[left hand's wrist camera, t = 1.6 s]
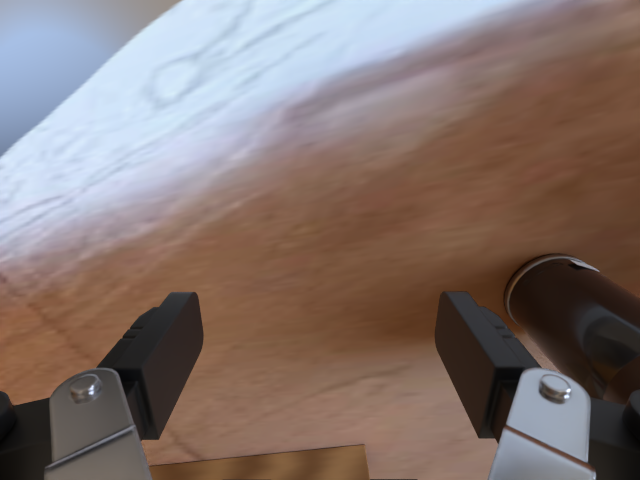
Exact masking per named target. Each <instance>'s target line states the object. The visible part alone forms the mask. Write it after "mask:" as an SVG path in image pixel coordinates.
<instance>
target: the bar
mask: <svg viewBox="0 0 640 480" xmlns="http://www.w3.org/2000/svg"><path fill="white" fill-rule="evenodd" d="M148 467H149V470H150V473H151V476H152V479H153V480H223V479H271V480H369V479H370V477H369V470H368V463H367V456H366V449H365V445H355V446H346V447H336V448H326V449H316V450H306V451H296V452H286V453H276V454H267V455H257V456H247V457H237V458H227V459H217V460H207V461H198V462H188V463H178V464H168V465H158V466H148Z"/></svg>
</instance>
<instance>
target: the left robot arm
mask: <svg viewBox="0 0 640 480" xmlns="http://www.w3.org/2000/svg"><path fill="white" fill-rule="evenodd" d="M595 270H596V271H595ZM597 271H598V270H597V269H595V268H594V267H592V266H590V265H587V264H585V263H584V262H582V261H581V260H579V259H577V258H575V257H573V256H570V255H565V254H551V255H546V256H542V257H540V258H537V259H535V260H533V261H531V262H529V263H528V264H526V265H525V266H523V267H522V268H521V269H520V270H519V271H518V272H517V273H516V274H515V275H514V276H513V277H512V279H511V280H510V282H509V284H508V286H507V288H506V291H505V297H504V304H505V309H506V311H507V313H508V315H509V316H510V318H511V319H512V320H513V321H514V322H515V323H516V324H517V325H518V326H520V327H521V328H522V330H523V331H524V332H525V333H526V334H527V335H528V336H529V337H530V339H531V340H532V341H533V342H534V343H535V344H536V345H537V346H538V348H539V349H540V350H541V351H542V352H543V353H544V354H545V355H546V356H547V358H548V359H549V360H550V361H551V362H552V363H553V364H554V365H555V366H556V368H557V369H558V370H559V371H560V372H561V373H559V372H557V371H554V370H550V369H546V368H542V367H541V366H540V365H539V364H538V363H537V361H536V360H535V359H534V358H533V357H532V355H531V354H530V353H529V352H528V351H527V349H526V348H525V347H524V346H523V345H522V343H521V342H520V341H519V340H518V339H517V338H515V335H514V334H513V333H512V331H511V330H510V329H508V328H507V325H506V324H505V323H504V322H503V321H502V320H501V318H500V317H499V316H498V315H496V314H495V313H493V312H492V311H490V310H489V309H487V308H486V307H479V306H478V305H477V304H476V302H475V301H474V300H473V298H472V297H471V296H470V295H469V293H468V292H442V293H441V295H440V300H439V307H438V314H437V321H436V327H435V343H436V348H437V351H438V353H439V355H440V357H441V359H442V362H443V364H444V366H445V368H446V370H447V372H448V374H449V376H450V378H451V381H452V383H453V385H454V387H455V389H456V391H457V393H458V395H459V397H460V400H461V402H462V404H463V406H464V408H465V410H466V412H467V414H468V417H469V419H470V421H471V423H472V425H473V427H474V429H475V431H476V433H477V436H478V438H495V439H496V441H497V443H498V447H497V451H496V454H495V457H494V460H493V463H492V467H491V470H490V473H489V476H488V479H487V480H640V298H639V297H637V296H636V295H634V294H632V293H631V292H629V291H627V290H626V289H624V288H623V287H621V286H619V285H618V284H616V283H614V282H613V281H611V280H610V279H608V278H606V277H605V276H603V275H602V274H600V273H598V272H597ZM202 345H203V326H202V320H201V313H200V306H199V299H198V295H197V294H196V293H195V292H171V293H170V294H169V295H168V296H167V298H166V299H165V300H164V301H163V303H162V304H161V305H160V307H153V308H152V309H150V310H149V311H147V312H146V313H144V314H143V315H141V316H139V318H138V319H137V320H136V321H135V322H134V323H133V325H132V326H131V327H130V329H128V331H127V332H126V333H125V334H124V335H123V338H122V339H120V340H119V341H118V342H117V344H116V345H115V346H114V347H113V348H112V350H111V351H110V352H109V353H108V354H107V356H106V357H105V358H104V359H103V360H102V361H101V363H100V364H99V365H98V366H97V367H96V368H94V369H90V370H86V371H83V372H81V373H78V374H76V375H74V376H72V377H70V378H69V379H67V380H66V381H64V382H63V383H62V384H61V385H59V386H58V387H57V388H56V389H55V391H54V392H53V393H52V395H51V397H50V398H46V399H42V400H37V401H33V402H28V403H24V404H20V405H15V406H12V404H11V401H10V399H9V397H8V395H7V394H6V393H4V392H2V391H0V480H153V479H152V476H151V473H150V470H149V467H148V463H147V460H146V457H145V454H144V451H143V447H142V444H141V441H142V440H159V438H160V436H161V434H162V432H163V429H164V427H165V425H166V423H167V421H168V419H169V417H170V415H171V413H172V411H173V409H174V406H175V404H176V402H177V400H178V398H179V396H180V394H181V392H182V390H183V388H184V386H185V383H186V381H187V379H188V377H189V375H190V373H191V371H192V369H193V367H194V365H195V363H196V360H197V358H198V356H199V354H200V352H201V349H202ZM223 480H271V479H223ZM369 480H417V479H369Z"/></svg>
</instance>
